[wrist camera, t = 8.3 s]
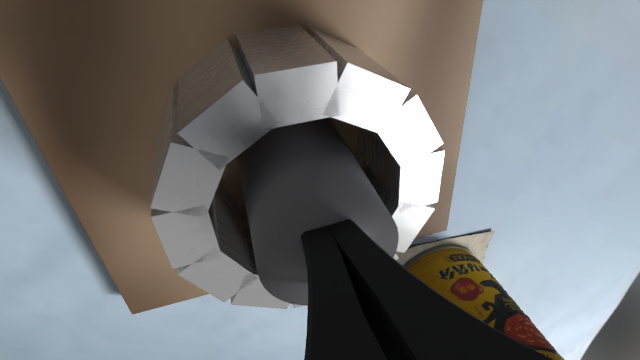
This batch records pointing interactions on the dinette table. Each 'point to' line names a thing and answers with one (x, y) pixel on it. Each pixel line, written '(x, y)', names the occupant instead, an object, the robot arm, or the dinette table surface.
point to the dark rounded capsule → (305, 200)
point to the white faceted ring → (259, 118)
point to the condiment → (473, 286)
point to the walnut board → (162, 74)
